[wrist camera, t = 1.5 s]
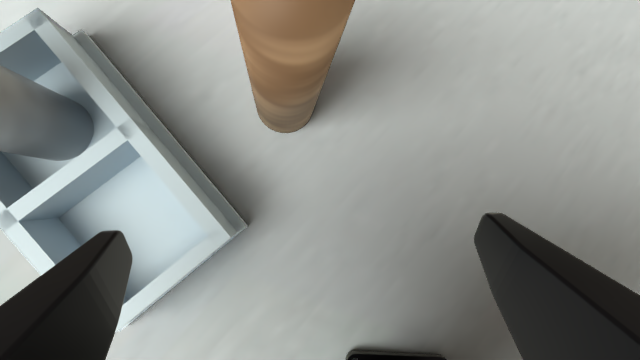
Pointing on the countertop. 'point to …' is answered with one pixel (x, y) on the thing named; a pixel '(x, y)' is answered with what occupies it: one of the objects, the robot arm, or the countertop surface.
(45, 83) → the slot rack
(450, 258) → the countertop surface
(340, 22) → the walnut peg
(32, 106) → the grey peg
